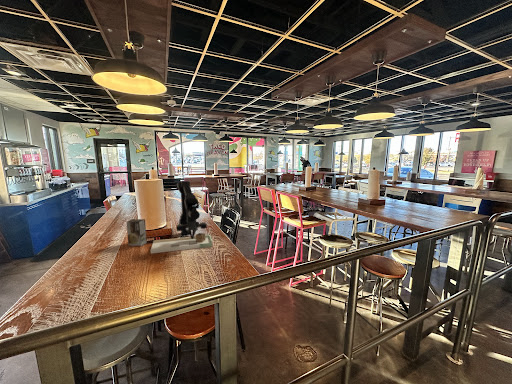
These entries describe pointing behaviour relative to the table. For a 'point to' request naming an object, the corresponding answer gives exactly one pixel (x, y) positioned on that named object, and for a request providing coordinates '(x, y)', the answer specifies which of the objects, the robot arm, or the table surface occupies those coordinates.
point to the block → (200, 237)
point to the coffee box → (136, 232)
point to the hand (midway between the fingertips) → (192, 238)
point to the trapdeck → (179, 244)
